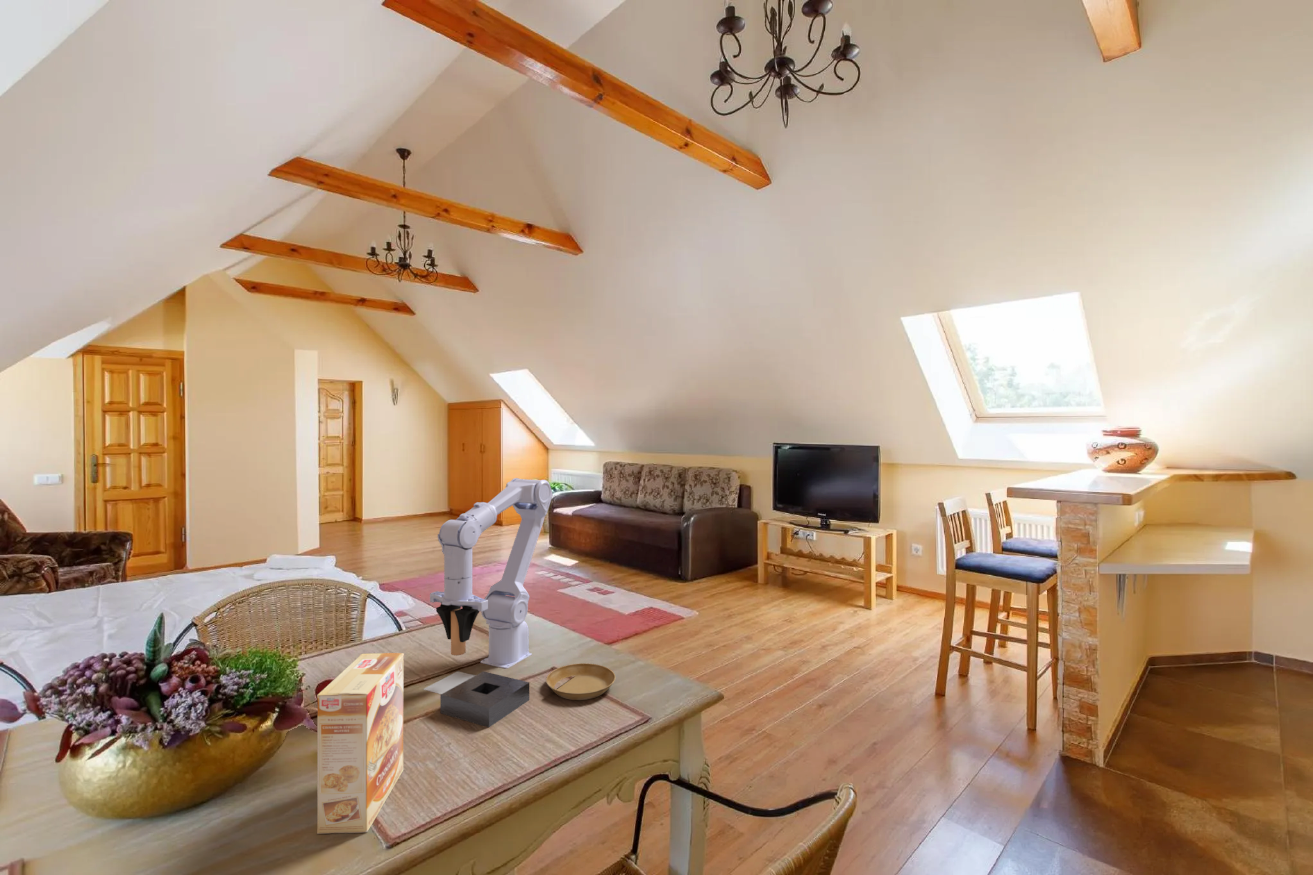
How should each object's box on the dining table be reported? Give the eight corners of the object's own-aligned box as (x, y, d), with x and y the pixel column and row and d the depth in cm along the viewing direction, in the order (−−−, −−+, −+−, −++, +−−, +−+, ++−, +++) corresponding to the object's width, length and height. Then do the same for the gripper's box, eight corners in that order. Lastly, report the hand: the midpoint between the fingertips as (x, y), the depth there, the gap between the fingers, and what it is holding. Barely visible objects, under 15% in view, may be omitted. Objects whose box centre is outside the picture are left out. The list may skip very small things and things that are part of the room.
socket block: (483, 689, 125) (483, 671, 125) (529, 701, 120) (529, 682, 120) (440, 715, 114) (440, 694, 114) (489, 729, 109) (489, 707, 109)
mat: (457, 672, 133) (457, 671, 133) (492, 681, 129) (492, 679, 129) (423, 690, 124) (423, 689, 124) (459, 700, 120) (459, 698, 120)
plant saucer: (627, 682, 130) (627, 670, 130) (592, 711, 116) (592, 698, 116) (570, 669, 136) (571, 658, 136) (531, 696, 123) (531, 684, 123)
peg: (458, 649, 128) (458, 608, 128) (468, 651, 127) (468, 610, 127) (447, 653, 126) (447, 612, 125) (458, 656, 124) (458, 614, 124)
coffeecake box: (368, 833, 81) (367, 693, 81) (314, 835, 81) (313, 695, 80) (405, 769, 96) (405, 651, 96) (360, 771, 96) (360, 652, 95)
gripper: (418, 576, 125) (418, 639, 126) (471, 585, 119) (471, 651, 120) (443, 569, 132) (443, 629, 132) (494, 576, 126) (494, 640, 126)
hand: (458, 639), depth 126 cm, fingers closed on peg, 3 cm apart
